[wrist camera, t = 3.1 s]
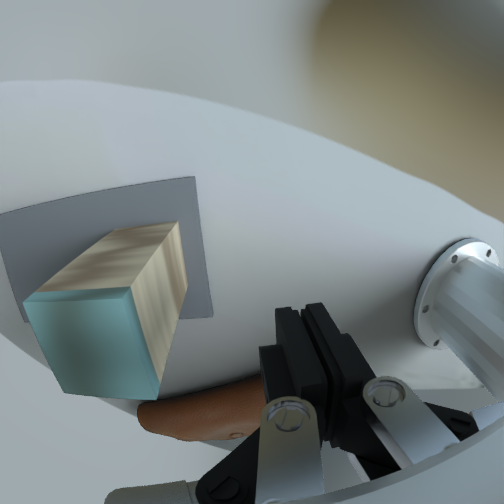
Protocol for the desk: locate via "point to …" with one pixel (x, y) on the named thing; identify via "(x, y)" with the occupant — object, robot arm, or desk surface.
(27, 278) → the charcoal mat
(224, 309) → the desk surface
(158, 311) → the wooden block
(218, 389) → the sunglasses case
